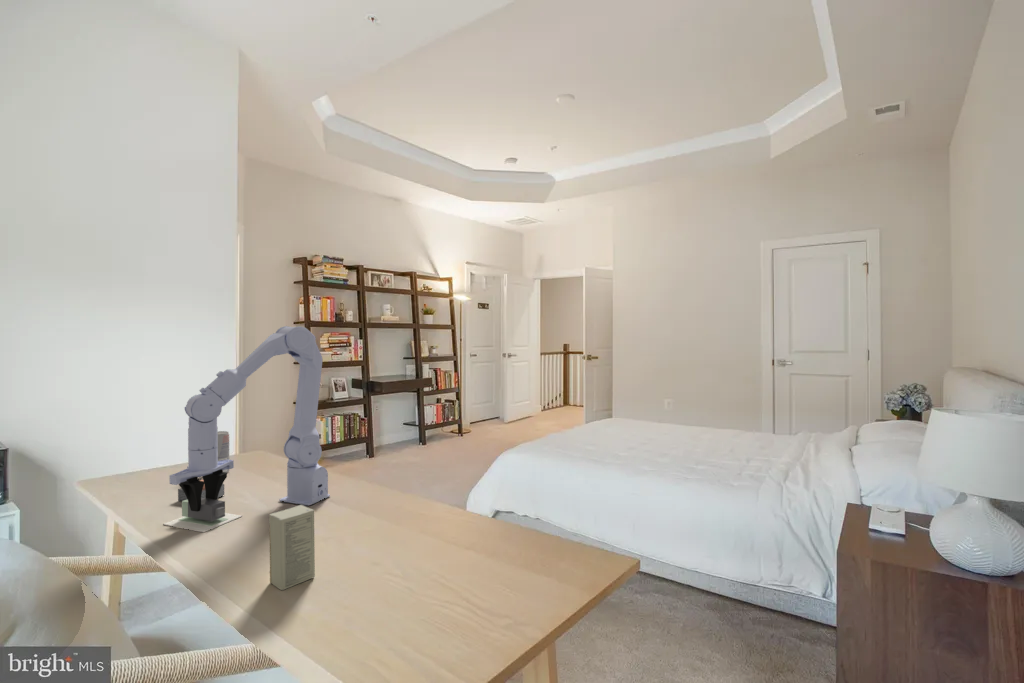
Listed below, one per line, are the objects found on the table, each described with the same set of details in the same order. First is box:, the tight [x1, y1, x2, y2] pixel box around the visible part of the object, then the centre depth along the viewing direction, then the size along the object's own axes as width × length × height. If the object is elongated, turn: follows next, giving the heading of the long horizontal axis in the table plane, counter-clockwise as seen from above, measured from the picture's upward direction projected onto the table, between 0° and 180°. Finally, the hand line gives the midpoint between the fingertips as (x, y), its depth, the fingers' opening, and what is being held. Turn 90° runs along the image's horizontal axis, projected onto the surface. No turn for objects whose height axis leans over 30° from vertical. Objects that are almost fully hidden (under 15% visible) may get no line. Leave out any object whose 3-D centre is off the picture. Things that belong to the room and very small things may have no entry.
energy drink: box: [218, 430, 230, 474], centre depth 156 cm, size 5×5×12 cm
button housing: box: [177, 483, 225, 503], centre depth 133 cm, size 7×7×3 cm
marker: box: [181, 498, 226, 521], centre depth 117 cm, size 10×3×3 cm, turn 70°
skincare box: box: [268, 504, 316, 591], centre depth 90 cm, size 6×4×12 cm
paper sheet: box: [162, 512, 243, 533], centre depth 118 cm, size 12×10×1 cm
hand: (203, 507), depth 118 cm, fingers closed on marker, 3 cm apart
